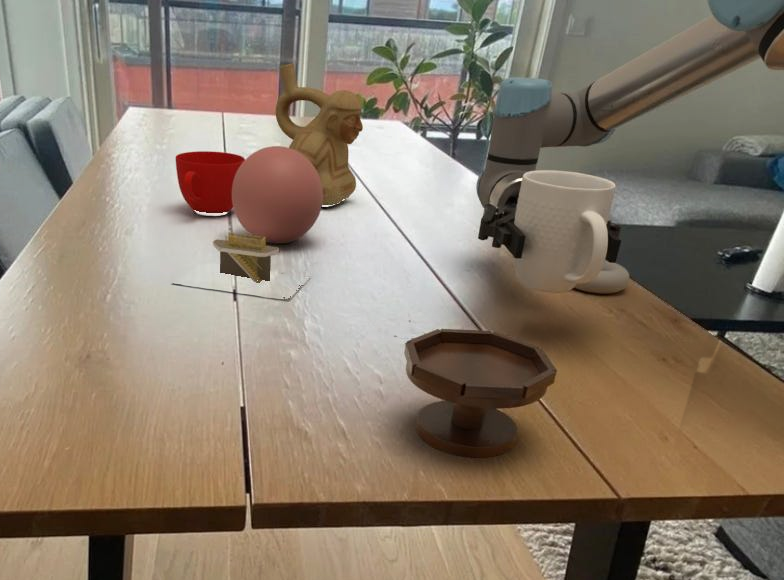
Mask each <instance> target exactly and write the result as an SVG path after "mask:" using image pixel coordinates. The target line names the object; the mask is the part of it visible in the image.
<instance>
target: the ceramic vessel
mask: <svg viewBox="0 0 784 580" xmlns="http://www.w3.org/2000/svg"><path fill="white" fill-rule="evenodd" d="M278 69H279V72H280V76H281V80H282V85H283V92H282V93H281V94H280V96H279V97H278V99H277V101H276V105H275V118H276V119H275V120H276V122H277V125H278V127H279V129H280V130H281V132H283V134H285V135H286V137H288V138H289V139H290V140H292V141H291V142H290V145H288V148H291V149H293V150H296V151H298V152H299V153H301V154H302V155H304V156H305V157H306V158H307V159H308V160H309V161H310V162H311V163H312V164H313V166H314V167H315V169H316V170H317V172H318V175H319V177H320V180H321V183H322V189H323V202H322V205H333V204H337V203H339V202H341V201H342V200H343V199H346V198H348V199H349V198H350V196H351V195H352V194H353V193H354V192H355V190H356V188H357V179H356V176H355V175H354V173H353V171H352V170H351V169H350V167H349V145H351V144H353V143H354V141H355V140H357V139H358V137H359V135H360V133H361V132H362V131H363V129H364V126H363V122H362V119H361V118H362V110H363V108H364V106H363V103H362V101H361V99H360V97H359V96H358V95H357V94H356V93H354V92H352V91H350V90H345V89H339V90H336V91H334V92H332V93H331V94H329V93H327V92H324V91H322V90H319V89H317V88H313V87H307V86H299V85H298V83H297V77H296V68H295V63H287V64H284V65H280V66H279V67H278ZM301 101H308V102H311V103H313V104H314V105H316V106H317V107H318V108H320V110H319V112H318V113H317V115H316V116H315V117H314V118H313V119H312V120H311V121H310V122H309V123H307V125H305V126H300V125H298V124H296V123H295V122H293V120H292V119H291V117H290V114H289V109H290V106H291V105H292V104H294V103H295V102H301ZM341 203H342V202H341ZM339 204H340V203H339Z"/></svg>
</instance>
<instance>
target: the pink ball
mask: <svg viewBox="0 0 784 580" xmlns="http://www.w3.org/2000/svg"><path fill="white" fill-rule="evenodd" d="M244 159H245V161H244V162H243V163H242V164H241V166H240V167H239V169H238V170H237V172H236V175H235V177H234V180H233V185H232V204H233V208H232V209H233V211H234V214H235V216H236V218H237V220H238V222H239V223H240V225H241V226H242V228H244V230H245V231H247V233H249V235H251V236H259V237H260V240H262V237H266V243H269V242H270V244H287V243H290V242H293V241H296V240H298V239H300V238H301V237H303V236H304V235H305V234H307V232H309V231H310V230H311V229H312V228H313V226H314V225H315V223H316V222H317V220H318V218H319V216H320V214H321V211H322V208H321V207H322V202H323V189H322V183H321V180H320V177H319V175H318V172H317V170H316V169H315V167H314V166H313V164H312V163H311V162H310V161H309V160H308V159H307V158H306V157H305V156H304V155H302V154H301V153H299V152H298V151H296V150H293V149H291V148H289V147H286V146H282V145H273V146H266V147H263V148H260V149H258V150H256V151H254V152H253V153H251V154H250V155H249V156H247V157H246V158H244ZM255 239H257V237H255Z"/></svg>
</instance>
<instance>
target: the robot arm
mask: <svg viewBox="0 0 784 580" xmlns="http://www.w3.org/2000/svg"><path fill="white" fill-rule="evenodd" d="M707 4H708V7H709V11H710V12H711V14H710V15H709V16H707V17H706V18H703V19H702V20H700V21H698V22H697V23H695V24H693V25H692V26H690V27H688V28H686V29H684V30H683V31H680V32H679V33H678V34H676V35H673V36H672V37H670V38H669V39H667V40H665V41H663V42H661V43H659V44H658V45H656V46H654V47H652V48H650V49H649V50H647V51H646V52H644V53H642V54H640V55H639V56H637V57H635V58H633V59H632V60H629V61H628V62H626V63H625V64H622V65H621V66H619V67H618V68H616V69H614V70H612V71H611V72H609V73H606V74H605V75H603V76H602V77H600V78H598V79H596V80H595V81H593V82H591V83H590V84H588V85H586V86H584V87H582V88H581V89H578V90H577V91H574V92H553V91H552V90H553V84H552V82H551V81H550V80H548V79H543V78H535V77H522V76H521V77H520V76H514V77H513V76H512V77H507V78H504V79H503V80H502V81H501V83H500V85H499V89H498V93H497V95H496V100H495V105H494V107H493V118H492V125H491V132H490V138H489V146H488V152H487V157H486V159H485V165H484V168H483V169H482V171H481V172H480V174H479V175H478V178H477V181H476V187H475V190H476V195H477V198H478V200H479V202H480V204H481V207H482V208H483V214H482V217H481V219H480V223H479V230H478V237H477V239H478V240H480V241H487V240H488V239H489V238H492V243H491V247H492V248H494V249H501V248H502V246H504V247H505V248H506V250H507V251H508V252H509V253H510V255H512V257H513V256H514V258H517V259H521V258H522V253H523V248H524V243H525V238H526V236H525V235H524V234H523V233H522V232H521V230H520V229H519V228H518V227H517V226H515V224H514V220H515V214H516V213H515V212H516V209H517V203H518V198H519V192H520V188H521V183H522V178H523V175H524V174H525V173H526V172H530V171H537V170H536V169H537V165H538V163H539V162H538V161H539V157H540V151H541V149H543V148H560V147H565V148H566V147H589V146H590V147H591V146H594V145H599V144H602V143H604V142H606V141H608V140H609V139H610V138H611V137H612V135H613V134H614V133H615V132H616V130H617V129H618V128H619V127H622V126H625V125H626V124H628V123H630V122H632V121H634V120H636V119H638V118H640V117H643V116H644V115H647V114H649V113H651V112H653V111H655V110H657V109H658V108H662V107H663V106H665V105H667V104H669V103H672V102H673V101H676V100H678V99H680V98H682V97H684V96H686V95H688V94H690V93H692V92H694V91H696V90H698V89H701V88H703V87H706V85H709V84H710V83H713V82H715V81H717V80H719V79H720V78H723V77H725V76H727V75H729V74H731V73H733V72H736V71H739V70H740V69H741V68H743V67H746V66H748V65H750V64H752V63H754V62H756V61H758V60H760V59H761V60H762V61H763V63H764V65H765V66H766V68H768V69H769V70H772V71H784V0H707ZM606 227H607V232H608V247H607V253H606V258H605V260H606V261H608V262H609V263H616V262H617V259H618V256H619V255H618V254H619V250H620V248H621V245H622V239H620V235H621V231H622V228H623V227H622V225H620V224H617V223H614V222H612V220H611V219H608V222H607V225H606ZM616 264H617V263H616Z"/></svg>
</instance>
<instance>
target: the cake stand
mask: <svg viewBox="0 0 784 580" xmlns="http://www.w3.org/2000/svg"><path fill="white" fill-rule="evenodd" d="M403 353H404V354H403V355H404V357H405V361H406V364H405V374H406V375H407V378H408V380H409V381H410V383H412V384H413V385H414V386H415V387H417V388H418V390H421V391H422V392H424V393H426V394H428V395H430V396H433V397H434V398H436V399H439V401H435V402H431V403H428V404H426V405H425V406H423V407H422V408H421V409H419V411H418V414H417V417H416V425H415V430H416V432H417V435H418V436H419V438H421V440H422V441H424V442H425V443H426V444H428V445H429V446H430V447H433V448H434V449H436V450H439V451H441V452H444V453H447V454H451V455H454V456H459V457H466V458H490V457H496V456H501V455H503V454H505V453H507V452H509V451H510V450H511V449H512V448H513V447H514V445H515V443H516V439H517V435H518V426H517V424H516V422H515V421H514V419H512V418H511V417H510V416H509V415H508V414H507V413H505V412H504V411H501V409H503V410H505V409H514V408H521V407H526V406H529V405H532V404H535V403H536V402H538V401H539V400H541V399H542V398H543V397H544V396H545V395H546V393H547V391H548V387H550V386H552V385H553V384H555V380H556V376H557V371H558V370H557V368H556V367H555V365H554V364H553V362H552V361H551V359H550V358H549V357H548V356H547V353H546V352H545V351H544V349H543V348H540V346H538V345H535V344H532V343H530V342H526V341H523V340H520V339H517V338H515V337H512V336H509V335H506V334H503V333H501V332H497V331H493V332H492V331H491V330H483V329H482V330H480V329H479V330H478V329H456V328H455V329H454V328H441V329H438V328H437V329H433V330H432V331H429V332H426V333H424V334H421V335H419V336H416V337H413V338H411V339H408V340H406V342H405V345H404V351H403Z"/></svg>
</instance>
